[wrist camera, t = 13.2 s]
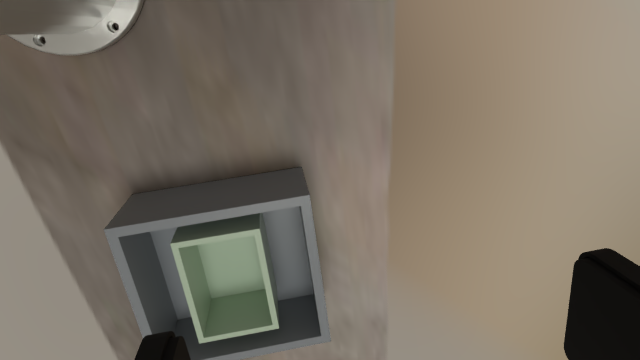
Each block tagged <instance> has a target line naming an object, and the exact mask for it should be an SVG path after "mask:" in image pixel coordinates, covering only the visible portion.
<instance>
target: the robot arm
mask: <svg viewBox="0 0 640 360" xmlns="http://www.w3.org/2000/svg"><path fill="white" fill-rule="evenodd" d="M143 2H144V0H0V35H8V36H9V37H11V38H13V39H14V40H16V41H18V42H20V43H22V44H23V45H25V46H28V47H30V48H33V49H36V50H39V51H41V52H45V53H51V54H56V55H83V54H90V53H93V52H97V51H100V50H103V49H105V48H107V47H109V46H111V45H113V44H114V43H116V42H117V41H119V40H120V39H121V38H122V37H123V36H124V35H125V34H127V33H128V31H129V30H130V29H131V27H132V26H133V24H134V23H135V22H136V20H137V18H138V16H139V13H140V11H141V9H142V6H143ZM115 23H117V24H118V25H119V29H118V30H115V28H114V24H115ZM43 37H44V38H45V40H46V43H44V42H43V41H42V38H43ZM564 350H565V353H566V356H567V358H568V359H569V360H640V266H638V265H636V264H635V263H633V262H632V261H630V260H628V259H627V258H625V257H623V256H622V255H620V254H619V253H617V252H616V251H613V250H611V249H607V248H605V249H600V250H594V251H589V252H584V253H582V254H581V255H580V256H579V259H578V260H577V261H576V262H575V264H574V270H573V277H572V285H571V293H570V301H569V309H568V317H567V325H566V332H565V341H564ZM135 360H191V359H190V356H189V352H188V349H187V346H186V343H185V340H184V338H183V336H177V337H176V336H175V333H174V332H173V331H167V332H162V333H157V334H151V335H146V336H145V337H144V338H143V340H142V342H141V345H140V347H139V350H138V352H137V355H136V357H135Z"/></svg>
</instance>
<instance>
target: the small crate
mask: <svg viewBox="0 0 640 360" xmlns="http://www.w3.org/2000/svg"><path fill="white" fill-rule="evenodd" d="M170 245H171V248H172V252H173V255H174V259H175V262H176V266H177V269H178V272H179V276H180V279H181V283H182V286H183V290H184V293H185V296H186V300H187V303H188V307H189V310H190V314H191V317H192V320H193V324H194V327H195V331H196V334H197V338H198V341H199V344H200V343H205V342H211V341H216V340H221V339H226V338H232V337H237V336H242V335H247V334H253V333H258V332H263V331H268V330H274V329H279V316H278V298H277V286H276V280H275V275H274V270H273V264H272V259H271V254H270V249H269V243H268V238H267V233H266V228H265V222H264V217H263V213H257V214H251V215H245V216H239V217H233V218H227V219H222V220H216V221H210V222H204V223H198V224H192V225H186V226H181V227H177V229H176V232H175V234H174V236H173V238H172V241H171V243H170Z"/></svg>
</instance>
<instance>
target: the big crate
mask: <svg viewBox="0 0 640 360" xmlns="http://www.w3.org/2000/svg"><path fill="white" fill-rule="evenodd" d="M257 213H263V217H264V222H265V228H266V233H267V238H268V243H269V249H270V254H271V259H272V264H273V270H274V275H275V280H276V286H277V298H278V316H279V329H274V330H268V331H263V332H258V333H253V334H247V335H242V336H237V337H232V338H226V339H221V340H216V341H211V342H205V343H200V344H199V341H198V338H197V334H196V331H195V327H194V324H193V320H192V317H191V314H190V310H189V307H188V303H187V300H186V296H185V293H184V290H183V286H182V283H181V279H180V276H179V272H178V269H177V266H176V262H175V259H174V255H173V252H172V248H171V245H170V243H171V241H172V238H173V236H174V234H175V232H176V229H177V227H181V226H186V225H192V224H198V223H204V222H210V221H216V220H222V219H227V218H233V217H239V216H245V215H251V214H257ZM104 232H105V235H106V237H107V240H108V243H109V246H110V248H111V251H112V254H113V257H114V259H115V262H116V265H117V268H118V270H119V273H120V276H121V279H122V281H123V284H124V287H125V290H126V292H127V295H128V298H129V301H130V304H131V306H132V309H133V312H134V315H135V317H136V320H137V323H138V326H139V328H140V331H141V334H142V337H143V338H144V337H145V336H146V335H151V334H157V333H162V332H167V331H173V332H174V333H175V336H176V337H177V336H183V338H184V340H185V343H186V346H187V349H188V352H189V356H190V359H191V360H240V359H245V358H250V357H255V356H260V355H265V354H270V353H275V352H280V351H285V350H290V349H295V348H300V347H305V346H310V345H315V344H320V343H325V342H330V341H331V337H330V330H329V324H328V317H327V310H326V303H325V296H324V289H323V283H322V276H321V269H320V262H319V255H318V248H317V242H316V235H315V228H314V221H313V214H312V208H311V201H310V194H309V191H308V187H307V184H306V181H305V177H304V174H303V170H302V167H298V168H291V169H285V170H279V171H273V172H267V173H261V174H255V175H248V176H242V177H236V178H230V179H224V180H218V181H212V182H205V183H199V184H193V185H187V186H181V187H175V188H169V189H162V190H156V191H150V192H144V193H138V194H132V195H131V197H130V198H129V199H128V200H127V202H126V203H125V204H124V205H123V207H122V208H121V209H120V210H119V211H118V213H117V214H116V215H115V216H114V218H113V219H112V220H111V221H110V223H109V224H108V225H107V226H106V228H105V229H104Z"/></svg>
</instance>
